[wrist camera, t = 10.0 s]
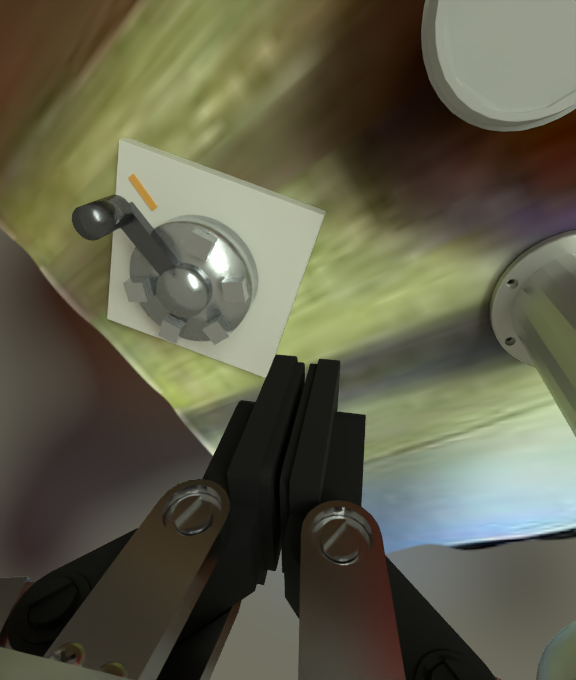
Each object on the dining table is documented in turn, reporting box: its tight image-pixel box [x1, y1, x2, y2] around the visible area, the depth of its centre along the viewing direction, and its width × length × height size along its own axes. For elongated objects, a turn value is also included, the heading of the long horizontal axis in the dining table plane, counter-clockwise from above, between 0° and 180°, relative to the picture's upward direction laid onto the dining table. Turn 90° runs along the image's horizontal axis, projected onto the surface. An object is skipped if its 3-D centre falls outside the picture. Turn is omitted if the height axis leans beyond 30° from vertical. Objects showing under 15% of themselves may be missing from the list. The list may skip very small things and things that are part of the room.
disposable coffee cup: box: [421, 0, 576, 131], centre depth 22 cm, size 10×10×12 cm
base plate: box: [107, 138, 326, 378], centre depth 39 cm, size 18×18×2 cm
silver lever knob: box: [72, 195, 258, 345], centre depth 34 cm, size 15×11×8 cm
